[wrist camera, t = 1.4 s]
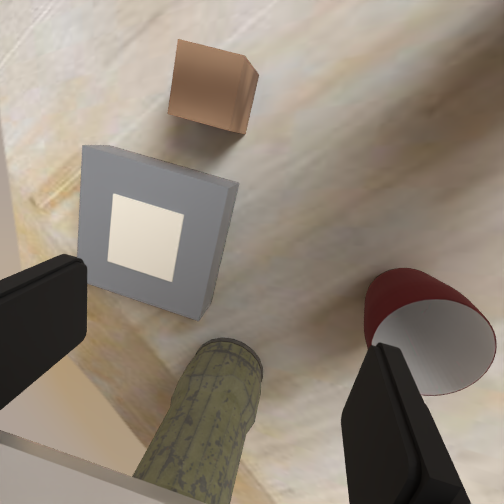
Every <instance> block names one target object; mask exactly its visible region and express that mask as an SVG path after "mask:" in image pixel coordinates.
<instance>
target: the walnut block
mask: <svg viewBox="0 0 504 504" xmlns="http://www.w3.org/2000/svg"><path fill="white" fill-rule="evenodd" d="M258 78H259V74H258V73H257V71H256V70H255V69H254V67H253V66H252V65H251V63H250V62H249V60H248V59H247V58H246V56H244V55H240V54H236V53H232V52H228V51H224V50H220V49H216V48H212V47H208V46H204V45H200V44H196V43H192V42H188V41H184V40H180V39H178V43H177V50H176V57H175V64H174V71H173V79H172V86H171V93H170V100H169V107H168V114H170V115H174V116H177V117H181V118H184V119H188V120H192V121H195V122H199V123H203V124H206V125H210V126H213V127H217V128H221V129H224V130H228V131H232V132H237V133H242V134H246V130H247V125H248V121H249V117H250V112H251V108H252V104H253V99H254V95H255V91H256V86H257V82H258Z"/></svg>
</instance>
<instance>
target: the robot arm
mask: <svg viewBox="0 0 504 504" xmlns="http://www.w3.org/2000/svg"><path fill="white" fill-rule="evenodd" d="M86 332H87V266H86V265H85V264H84V261H83V260H82V259H81V258H77V257H74V256H70V255H67V254H62V255H59V256H57V257H54V258H52V259H49V260H47V261H45V262H42V263H40V264H38V265H35V266H33V267H30V268H28V269H26V270H23V271H21V272H19V273H16V274H14V275H12V276H9V277H7V278H4V279H2V280H0V410H1V409H2V408H4V407H5V406H6V405H7V404H8V403H9V402H11V401H12V400H13V399H14V398H15V397H16V396H18V395H19V394H20V393H21V392H23V391H24V390H25V389H26V388H27V387H29V386H30V385H31V384H32V383H33V382H34V381H36V380H37V379H38V378H39V377H40V376H42V375H43V374H44V373H45V372H46V371H48V370H49V369H50V368H51V367H52V366H53V365H55V364H56V363H57V362H58V361H60V360H61V359H62V358H63V357H64V356H66V355H67V354H68V353H69V352H70V351H71V350H73V349H74V348H75V347H76V346H77V345H79V344H80V343H81V342H82V341H83V339H84V338H85V336H86ZM341 427H342V437H343V446H344V455H345V465H346V474H347V484H348V493H349V503H350V504H471V502H470V500H469V498H468V496H467V493H466V491H465V489H464V487H463V485H462V482H461V480H460V478H459V476H458V473H457V471H456V469H455V467H454V464H453V462H452V460H451V458H450V455H449V453H448V451H447V449H446V447H445V444H444V442H443V440H442V438H441V435H440V433H439V431H438V429H437V426H436V424H435V422H434V420H433V418H432V415H431V413H430V411H429V409H428V407H427V406H426V404H425V403H424V401H423V399H422V396H421V394H420V392H419V390H418V387H417V385H416V383H415V381H414V378H413V376H412V374H411V372H410V369H409V367H408V365H407V362H406V360H405V358H404V356H403V353H402V351H401V349H400V348H398V347H395V346H391V345H388V344H384V343H381V342H379V343H378V344H377V345H376V346H373V345H371V346H370V347H369V349H368V351H367V354H366V356H365V358H364V361H363V363H362V366H361V368H360V370H359V373H358V375H357V378H356V380H355V382H354V385H353V387H352V390H351V392H350V395H349V397H348V399H347V402H346V404H345V407H344V409H343V412H342V417H341ZM0 504H206V503H203V502H201V501H198V500H195V499H192V498H190V497H187V496H184V495H181V494H179V493H176V492H173V491H170V490H168V489H165V488H162V487H159V486H156V485H154V484H151V483H148V482H145V481H142V480H140V479H137V478H134V477H131V476H128V475H126V474H123V473H120V472H117V471H114V470H112V469H109V468H106V467H103V466H100V465H97V464H95V463H92V462H89V461H86V460H84V459H81V458H78V457H75V456H72V455H70V454H67V453H64V452H61V451H58V450H55V449H53V448H50V447H47V446H44V445H41V444H39V443H35V442H33V441H30V440H27V439H24V438H21V437H19V436H16V435H13V434H10V433H7V432H4V431H1V430H0Z"/></svg>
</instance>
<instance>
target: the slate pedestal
mask: <svg viewBox="0 0 504 504" xmlns="http://www.w3.org/2000/svg"><path fill="white" fill-rule="evenodd" d="M238 186H239V183H237V182H234V181H230V180H227V179H224V178H220V177H217V176H213V175H210V174H206V173H203V172H199V171H196V170H193V169H189V168H186V167H182V166H179V165H175V164H172V163H168V162H165V161H162V160H158V159H155V158H151V157H148V156H144V155H141V154H137V153H134V152H130V151H127V150H124V149H120V148H117V147H113V146H108V145H82V166H81V187H80V209H79V230H78V252H77V258H81V259H82V260H83V261H84V264H85V265H86V266H87V284H90V285H93V286H96V287H99V288H102V289H105V290H108V291H111V292H114V293H117V294H120V295H123V296H125V297H128V298H131V299H134V300H137V301H140V302H143V303H146V304H149V305H152V306H155V307H158V308H161V309H164V310H167V311H170V312H173V313H176V314H179V315H182V316H185V317H188V318H191V319H194V320H197V321H200V319H201V317H202V316H203V314H204V313H205V311H206V310H207V308H208V307H209V305H210V304H211V301H212V297H213V293H214V288H215V284H216V280H217V276H218V271H219V267H220V263H221V259H222V254H223V250H224V246H225V242H226V237H227V233H228V229H229V225H230V220H231V216H232V212H233V208H234V203H235V199H236V195H237V191H238Z"/></svg>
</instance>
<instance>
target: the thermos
mask: <svg viewBox="0 0 504 504" xmlns="http://www.w3.org/2000/svg"><path fill="white" fill-rule="evenodd" d="M262 378H263V367H262V364H261V361H260V359H259V357H258V356H257V355H256V353H255V352H254V351H253V350H252V349H251V348H250V347H248V346H247V345H245V344H244V343H242V342H239V341H237V340H234V339H229V338H218V339H212V340H210V341H208V342H206V343H205V344H203V345H202V346H201V348H200V349H199V350H198V351H197V353H196V356H195V357H194V358H193V360H192V361H191V362H190V363H189V364H188V366H187V368H186V370H185V371H184V373H183V375H182V377H181V378H180V380H179V382H178V384H177V387H176V389H175V391H174V394H173V396H172V399H171V406H170V409H169V411H168V413H167V414H166V416H165V418H164V420H163V422H162V423H161V425H160V427H159V429H158V431H157V433H156V434H155V436H154V438H153V440H152V442H151V443H150V445H149V447H148V449H147V451H146V453H145V455H144V457H143V458H142V460H141V462H140V463H139V465H138V467H137V469H136V471H135V473H134V475H133V476H132V477H134V478H137V479H140V480H142V481H145V482H148V483H151V484H154V485H156V486H159V487H162V488H165V489H168V490H170V491H173V492H176V493H179V494H181V495H184V496H187V497H190V498H192V499H195V500H198V501H201V502H203V503H206V504H230V501H231V496H232V492H233V488H234V484H235V479H236V475H237V471H238V466H239V462H240V458H241V454H242V449H243V445H244V441H245V437H246V434H247V432H248V431H249V429H250V428H251V427H252V425H253V424H254V422H255V417H256V412H257V408H258V403H259V398H260V394H261V382H262Z"/></svg>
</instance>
